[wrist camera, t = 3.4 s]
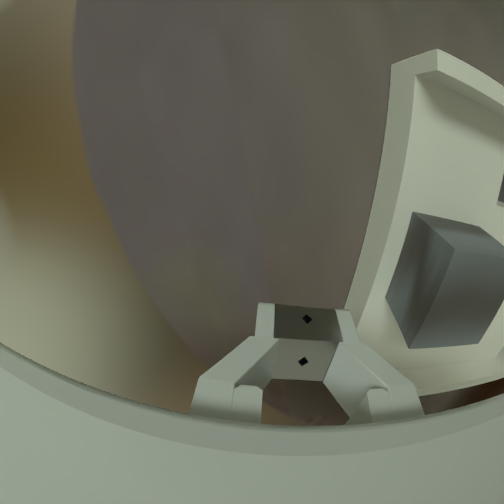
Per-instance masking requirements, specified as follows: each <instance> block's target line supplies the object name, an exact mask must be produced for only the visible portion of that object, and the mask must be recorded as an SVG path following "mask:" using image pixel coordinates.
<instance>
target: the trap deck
mask: <svg viewBox="0 0 504 504" xmlns="http://www.w3.org/2000/svg"><path fill="white" fill-rule="evenodd" d="M412 211H413V212H418V213H423V214H428V215H432V216H437V217H442V218H446V219H450V220H455V221H459V222H463V223H467V224H471V225H475V226H479V227H481V228H482V229H483V230H485V231H486V232H487V233H488V234H490V235H491V236H492V237H493V238H495V239H496V240H497V241H498V242H500V243H501V244H502V245H503V246H504V86H502V85H501V84H499V83H498V82H496V81H495V80H493V79H492V78H490V77H489V76H487V75H486V74H484V73H482V72H481V71H479V70H477V69H476V68H474V67H472V66H470V65H469V64H467V63H465V62H463V61H461V60H459V59H458V58H456V57H454V56H452V55H450V54H448V53H446V52H444V51H441V50H439V49H435V50H431V51H428V52H425V53H422V54H419V55H416V56H413V57H410V58H408V59H405V60H402V61H399V62H397V63H394V64H391V79H390V92H389V103H388V113H387V122H386V130H385V137H384V144H383V151H382V157H381V163H380V169H379V174H378V180H377V185H376V190H375V195H374V200H373V204H372V209H371V213H370V218H369V222H368V226H367V230H366V234H365V238H364V242H363V246H362V250H361V254H360V257H359V261H358V264H357V268H356V271H355V275H354V278H353V282H352V285H351V288H350V291H349V295H348V298H347V301H346V304H345V307H344V309H348V310H349V311H350V312H351V315H352V318H353V321H354V324H355V328H356V331H357V334H358V337H359V340H360V343H365V344H366V345H367V346H369V347H370V348H371V349H372V350H373V351H375V352H376V353H377V354H378V355H379V356H381V357H382V358H383V359H384V360H385V361H387V362H388V363H389V364H390V365H391V366H392V367H394V368H395V369H396V370H397V371H398V372H400V373H401V374H402V375H403V376H404V377H406V378H407V379H408V380H409V381H410V382H412V383H413V384H414V386H415V388H416V391H417V394H418V396H424V395H431V394H437V393H442V392H448V391H453V390H457V389H462V388H466V387H471V386H475V385H479V384H483V383H487V382H490V381H494V380H497V379H500V378H504V300H503V302H502V304H501V306H500V308H499V310H498V312H497V314H496V315H495V317H494V319H493V321H492V322H491V324H490V326H489V327H488V329H487V331H486V332H485V334H484V336H483V337H482V339H481V340H480V342H479V343H478V344H471V345H461V346H450V347H437V348H421V349H408V346H407V344H406V342H405V339H404V337H403V335H402V333H401V330H400V328H399V326H398V324H397V322H396V319H395V317H394V315H393V313H392V311H391V309H390V307H389V304H388V302H387V300H386V298H385V296H386V293H387V290H388V288H389V285H390V282H391V279H392V277H393V274H394V271H395V268H396V265H397V262H398V259H399V256H400V253H401V250H402V247H403V243H404V240H405V237H406V233H407V230H408V226H409V223H410V219H411V215H412ZM337 403H338V402H337Z"/></svg>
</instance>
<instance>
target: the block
mask: <svg viewBox="0 0 504 504" xmlns="http://www.w3.org/2000/svg"><path fill="white" fill-rule="evenodd" d="M385 298H386V300H387V302H388V304H389V307H390V309H391V311H392V313H393V315H394V317H395V319H396V322H397V324H398V326H399V328H400V330H401V333H402V335H403V337H404V339H405V342H406V344H407V346H408V349H421V348H437V347H450V346H461V345H471V344H478V343H479V342H480V340H481V339H482V337H483V336H484V334H485V332H486V331H487V329H488V327H489V326H490V324H491V322H492V321H493V319H494V317H495V315H496V314H497V312H498V310H499V308H500V306H501V304H502V302H503V300H504V246H503V245H502V244H501V243H500V242H498V241H497V240H496V239H495V238H493V237H492V236H491V235H490V234H488V233H487V232H486V231H485V230H483V229H482V228H481V227H479V226H475V225H471V224H467V223H463V222H459V221H455V220H450V219H446V218H442V217H437V216H432V215H428V214H423V213H418V212H413V211H412V215H411V219H410V223H409V226H408V230H407V233H406V237H405V240H404V243H403V247H402V250H401V253H400V256H399V259H398V262H397V265H396V268H395V271H394V274H393V277H392V279H391V282H390V285H389V288H388V290H387V293H386V296H385Z"/></svg>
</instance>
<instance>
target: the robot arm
mask: <svg viewBox="0 0 504 504" xmlns="http://www.w3.org/2000/svg"><path fill="white" fill-rule="evenodd" d="M271 379H295V380H297V379H298V380H311V381H323V383H324V384H325V386H326V387H327V388H328V390H329V391H330V392H331V394H332V395H333V396H334V398H335V399H336V400H337V402H338V403H339V404H340V406H341V407H342V408H343V409H344V411H345V412H346V413H347V415H348V416H349V417H350V418H349V420H348V421H347V422H346V424H345V425H337V426H289V425H270V424H261V409H262V393H263V391H262V390H263V389H264V388H265V387H266V386H267V384H268V383H269V382H270V381H271ZM0 504H504V393H503V394H501V395H498V396H495V397H492V398H489V399H486V400H483V401H480V402H477V403H474V404H470V405H467V406H463V407H459V408H455V409H451V410H447V411H443V412H439V413H434V414H429V415H424V412H423V409H422V406H421V403H420V400H419V397H418V394H417V391H416V388H415V386H414V384H413V383H412V382H410V381H409V380H408V379H407V378H406V377H404V376H403V375H402V374H401V373H400V372H398V371H397V370H396V369H395V368H394V367H392V366H391V365H390V364H389V363H388V362H387V361H385V360H384V359H383V358H382V357H381V356H379V355H378V354H377V353H376V352H375V351H373V350H372V349H371V348H370V347H369V346H367V345H366V344H365V343H360V340H359V337H358V334H357V331H356V328H355V324H354V321H353V318H352V315H351V312H350V311H349V310H348V309H321V308H308V307H300V306H290V305H281V304H275V305H274V304H272V303H263V302H259V303H258V310H257V319H256V328H255V336H249V337H248V338H247V339H246V340H245V341H243V342H242V343H241V344H240V345H239V346H237V347H236V348H235V349H234V350H233V351H231V352H230V353H229V354H228V355H226V356H225V357H224V358H223V359H221V360H220V361H219V362H218V363H216V364H215V365H214V366H213V367H211V368H210V369H209V370H208V371H206V372H205V373H204V374H203V375H201V376H200V377H199V380H198V383H197V386H196V390H195V394H194V397H193V401H192V404H191V408H190V412H189V414H188V413H182V412H177V411H173V410H169V409H165V408H160V407H156V406H152V405H149V404H145V403H141V402H137V401H134V400H131V399H128V398H124V397H121V396H117V395H115V394H112V393H109V392H106V391H103V390H100V389H97V388H94V387H92V386H89V385H87V384H84V383H81V382H79V381H76V380H74V379H72V378H69V377H67V376H65V375H62V374H60V373H58V372H55V371H53V370H51V369H49V368H47V367H45V366H43V365H41V364H39V363H37V362H35V361H33V360H31V359H29V358H27V357H25V356H23V355H21V354H19V353H18V352H16V351H14V350H12V349H10V348H9V347H7V346H5V345H4V344H2V343H0Z"/></svg>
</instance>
